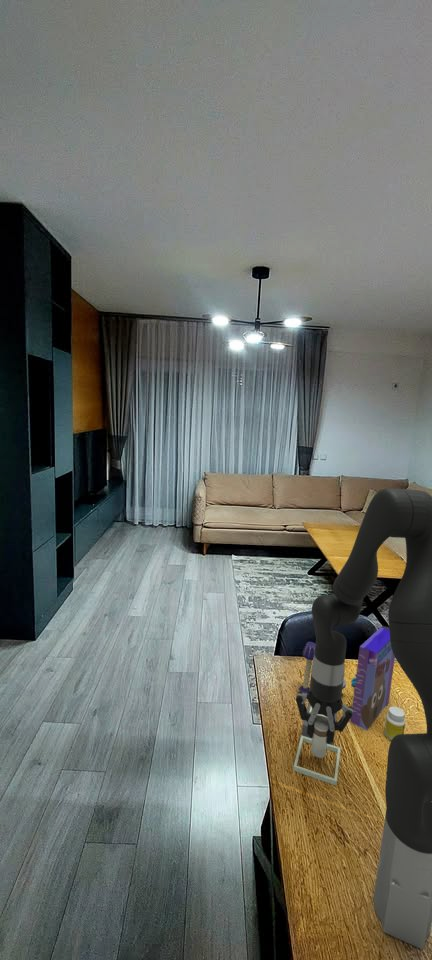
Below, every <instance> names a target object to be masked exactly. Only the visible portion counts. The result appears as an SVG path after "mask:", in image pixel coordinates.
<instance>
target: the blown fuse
mask: <svg viewBox="0 0 432 960" xmlns="http://www.w3.org/2000/svg"><path fill="white" fill-rule="evenodd" d="M328 730H329V723H328V719H327V718H326V717H324V716H316V718H315V720H314V727H313V736H312V744H310V745H311V747H310V753H311V754H312V755H313V756H314V757H316V758H318V759H319V758H321V759H323V758H324V757H326V756H327V755H326V754H327V749H326V748H327V738H328Z"/></svg>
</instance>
